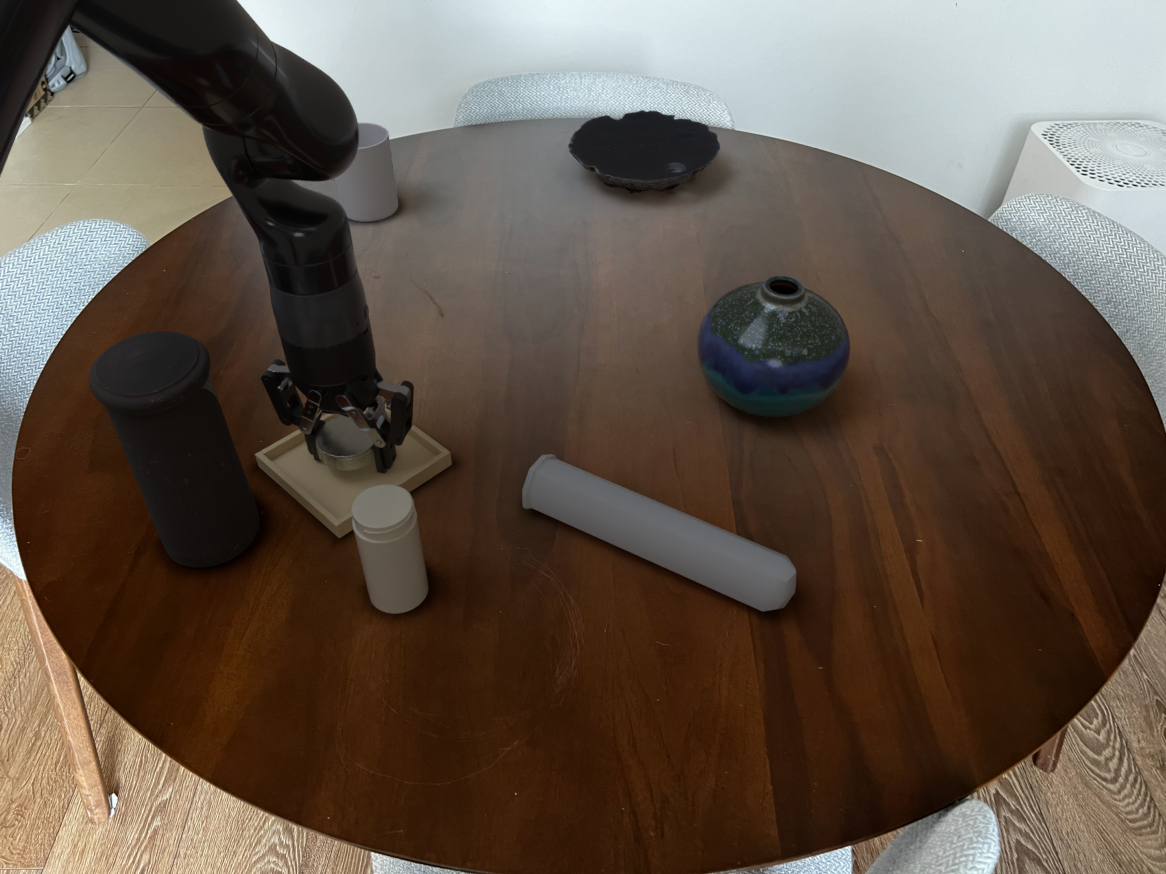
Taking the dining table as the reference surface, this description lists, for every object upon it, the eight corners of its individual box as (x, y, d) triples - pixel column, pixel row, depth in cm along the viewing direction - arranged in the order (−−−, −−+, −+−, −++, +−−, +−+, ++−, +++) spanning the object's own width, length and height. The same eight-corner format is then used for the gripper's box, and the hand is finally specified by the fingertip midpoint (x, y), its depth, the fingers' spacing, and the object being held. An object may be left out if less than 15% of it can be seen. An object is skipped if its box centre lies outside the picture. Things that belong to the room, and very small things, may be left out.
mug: (409, 211, 125) (399, 138, 117) (356, 228, 121) (343, 154, 114) (368, 177, 132) (357, 106, 125) (317, 193, 128) (303, 120, 121)
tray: (339, 538, 81) (336, 526, 80) (258, 466, 88) (254, 454, 87) (452, 464, 88) (450, 451, 87) (369, 403, 95) (367, 390, 94)
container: (278, 500, 85) (223, 324, 71) (242, 576, 78) (174, 398, 64) (188, 493, 85) (117, 317, 72) (145, 568, 79) (57, 389, 65)
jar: (400, 623, 75) (383, 539, 68) (356, 595, 77) (335, 511, 70) (440, 583, 78) (428, 499, 71) (397, 558, 80) (380, 473, 73)
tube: (812, 551, 76) (555, 445, 84) (795, 580, 71) (526, 465, 80) (794, 603, 78) (546, 494, 87) (776, 634, 74) (517, 515, 82)
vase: (866, 394, 97) (896, 289, 88) (776, 462, 89) (799, 354, 80) (753, 331, 105) (770, 228, 96) (661, 388, 97) (671, 282, 88)
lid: (389, 461, 85) (386, 447, 84) (323, 477, 84) (320, 463, 82) (376, 421, 89) (373, 407, 88) (314, 436, 88) (310, 422, 87)
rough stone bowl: (725, 210, 126) (730, 176, 122) (568, 210, 125) (568, 175, 122) (707, 141, 142) (711, 109, 139) (567, 140, 142) (567, 108, 138)
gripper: (222, 330, 75) (267, 475, 86) (385, 357, 72) (410, 502, 84) (265, 282, 80) (303, 424, 92) (419, 305, 78) (438, 448, 89)
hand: (354, 460), depth 88 cm, fingers closed on lid, 5 cm apart
